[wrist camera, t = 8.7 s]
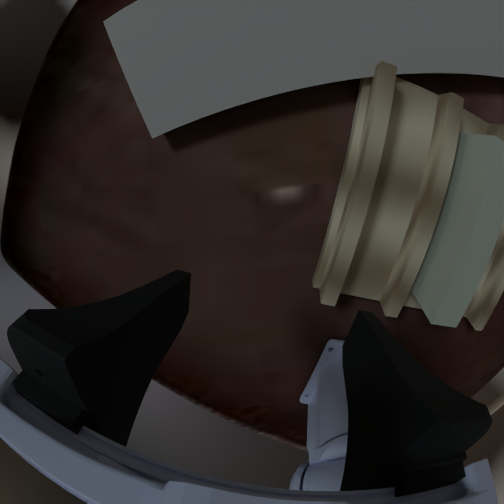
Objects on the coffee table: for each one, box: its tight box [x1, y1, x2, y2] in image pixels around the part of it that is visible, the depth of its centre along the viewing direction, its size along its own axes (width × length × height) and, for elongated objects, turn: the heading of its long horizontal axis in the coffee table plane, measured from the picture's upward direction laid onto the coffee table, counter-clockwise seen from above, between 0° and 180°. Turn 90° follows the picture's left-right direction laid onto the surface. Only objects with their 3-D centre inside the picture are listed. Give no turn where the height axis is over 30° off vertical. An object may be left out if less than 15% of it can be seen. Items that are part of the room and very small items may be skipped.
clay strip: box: [411, 133, 504, 327], centre depth 14 cm, size 12×2×5 cm, turn 170°
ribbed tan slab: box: [312, 61, 504, 331], centre depth 16 cm, size 16×17×3 cm
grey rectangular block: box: [104, 0, 504, 138], centre depth 12 cm, size 34×5×10 cm
